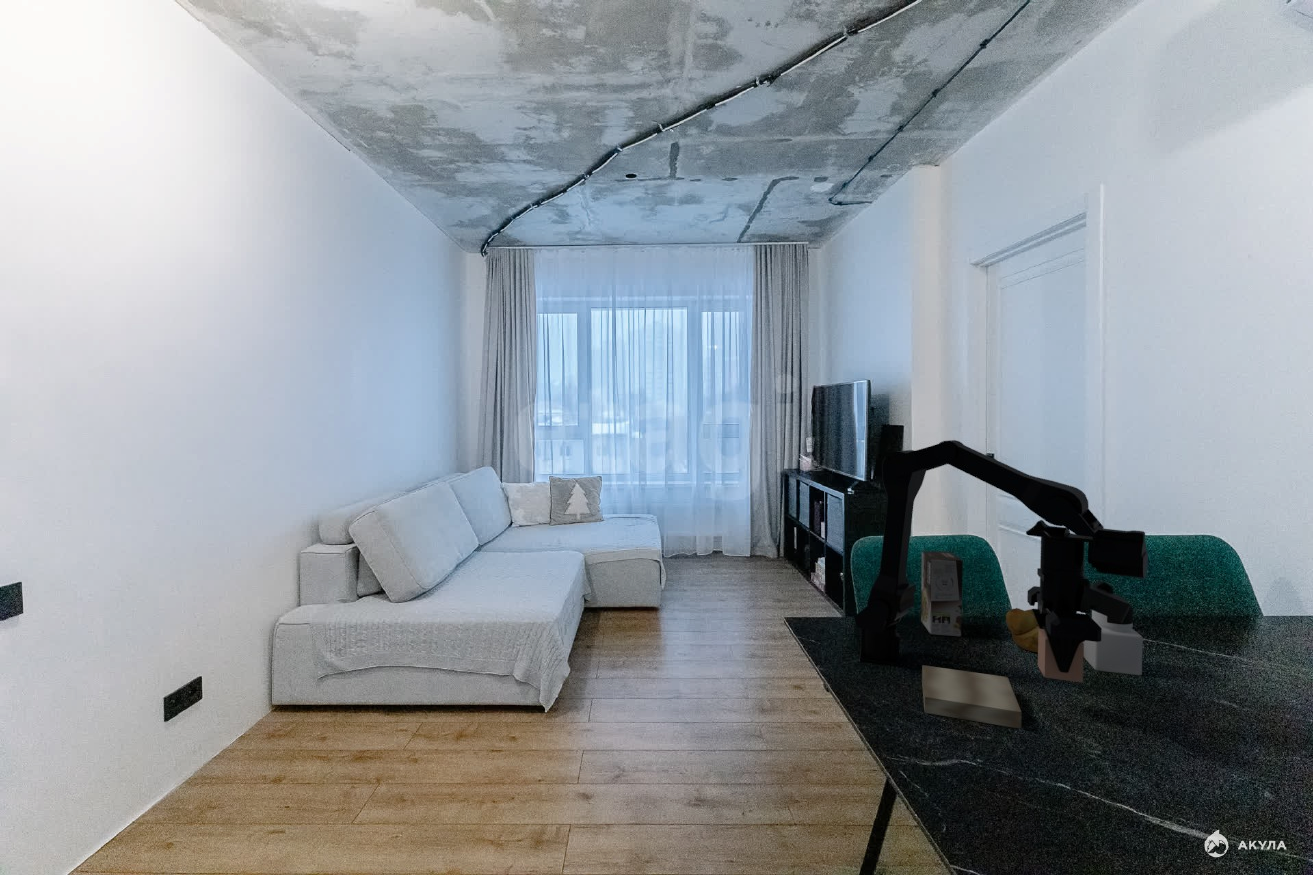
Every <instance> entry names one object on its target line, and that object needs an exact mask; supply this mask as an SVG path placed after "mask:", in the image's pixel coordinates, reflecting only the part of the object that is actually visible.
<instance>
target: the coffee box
mask: <svg viewBox="0 0 1313 875" xmlns="http://www.w3.org/2000/svg"><path fill="white" fill-rule="evenodd" d="M963 567H964V560H963V559H962V558H960V557H959V556H958V555H956V554H955V553H953V552H951V551H944V550H943V551H941V550H936V551H935V550H934V551H933V550H931V551H929V550H928V551H927V550H922V551H921V578H920V579H921V580H920V581H921V590H920V591H921V595H920V597H921V602H920V603H921V604H920V605H921V606H920V607H921V608H920V609H921V613H920V614H921V616H920V619H921V620H920V622H921V623H922V624H923V626H924V627H925V628H926V630H927V631H928V633H929V634H930V635H935V636H936V635H938V636H939V635H940V636H951V637H961V636H962V618H963V617H962V615H963V608H962V607H963V604H962V603H963V573H964V572H963V569H964V568H963Z"/></svg>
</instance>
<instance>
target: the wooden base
mask: <svg viewBox="0 0 1313 875" xmlns="http://www.w3.org/2000/svg"><path fill="white" fill-rule="evenodd" d="M921 668H922V669H921V683H922V695H923V696H922V697H923V698H922V699H923V709H924V714H930V715H937V716H943V717H949V718H956V719H959V720H960V719H961V720H966V721H973V722H979V723H984V724H985V723H986V724H990V725H996V726H1003V727H1008V728H1014V729H1020V730H1022V710H1021V707H1020V706H1019V703H1018V700H1017V698H1016V695H1015V693H1014V691H1013V687H1012V686H1011V682H1010V680H1009V678H1008V676H1000V675H996V674H988V673H987V674H986V673H979V672H974V671H967V670H960V669H959V670H958V669H952V668H945V667H937V666H932V665H931V666H930V665H924V664H923V665H922V666H921Z"/></svg>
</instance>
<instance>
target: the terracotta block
mask: <svg viewBox="0 0 1313 875" xmlns="http://www.w3.org/2000/svg"><path fill="white" fill-rule="evenodd" d="M1037 666H1038V668H1039V670H1040V671H1041V674H1042V676H1043V677H1044V678H1047V679H1055V680H1060V681H1068V682H1076V683H1083V684H1084V643H1083V642H1082V643H1080V644H1079V646H1078V649H1077V651H1076V653H1075V656H1074V659H1073V661H1072V664H1071V667H1070V669H1069V672H1068V673H1063V672H1060V671H1059V669H1058V666H1057V663H1056V661H1055V658H1054V655H1053V653H1052V650H1051V647H1050V645H1049V642H1048V639H1047V637H1046V634H1045V632H1044V629H1039V634H1038V652H1037Z"/></svg>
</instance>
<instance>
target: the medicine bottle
mask: <svg viewBox="0 0 1313 875" xmlns="http://www.w3.org/2000/svg"><path fill="white" fill-rule="evenodd" d="M1091 618H1092V619H1093V620H1094V621H1095V622H1096V623H1097V624H1098V625H1099V626H1100V627H1101V628H1102V632H1101V641H1100V642H1094V641H1084V642H1083V643H1084V657H1083V659H1085V660H1086V662H1087V663H1089V665H1090V666H1091V667H1092V668H1093V669H1094V670H1095V671H1097V672H1105V673H1106V672H1107V673H1108V672H1109V673H1116V674H1123V675H1124V674H1126V675H1133V676H1142V674H1143V643H1144V642H1143V640H1144V639H1143V636H1142V635H1141V634H1139V633H1138V632H1137V631H1135V629H1134V628H1133V626H1134V624H1133V622H1134V608H1133V606H1132V605H1131V606H1130V608H1129V610H1128V612H1127V614H1126V616H1125V618H1124V620H1123V622H1122V623H1120V622H1117V621H1114V620H1113V619H1112V618H1110V617H1108V616H1105V615H1103V614H1100V613H1098V612H1096V611H1093V610H1091Z"/></svg>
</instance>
